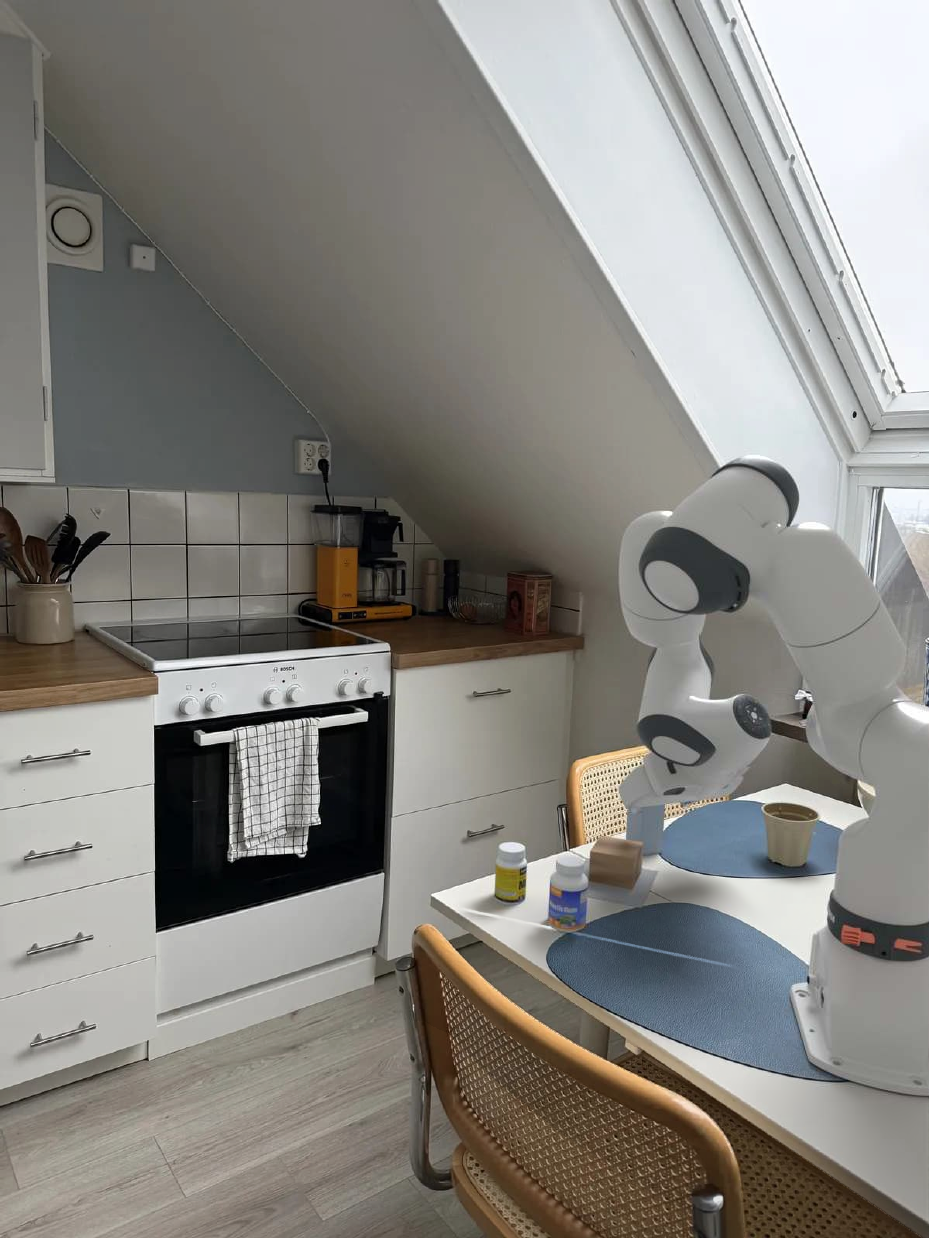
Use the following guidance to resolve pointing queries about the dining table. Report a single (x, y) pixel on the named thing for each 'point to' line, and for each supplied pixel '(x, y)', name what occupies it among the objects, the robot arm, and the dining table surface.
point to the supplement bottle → (510, 874)
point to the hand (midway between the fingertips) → (659, 806)
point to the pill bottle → (568, 895)
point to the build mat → (622, 889)
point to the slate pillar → (647, 828)
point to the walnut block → (616, 862)
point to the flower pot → (789, 831)
